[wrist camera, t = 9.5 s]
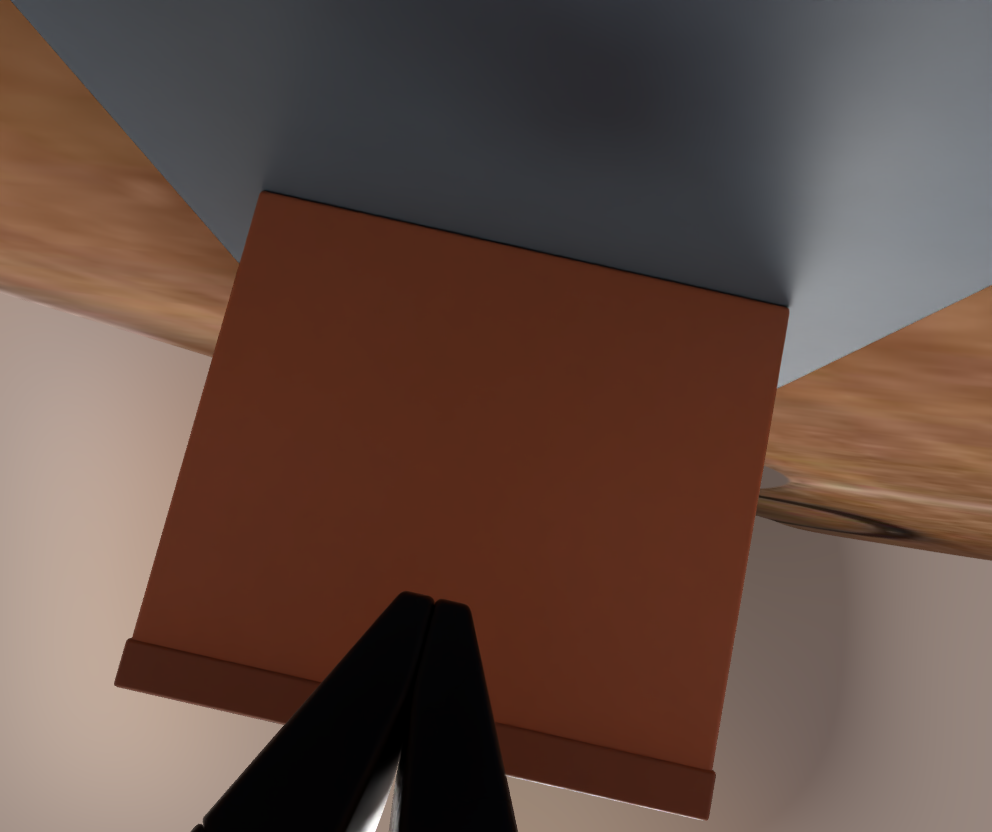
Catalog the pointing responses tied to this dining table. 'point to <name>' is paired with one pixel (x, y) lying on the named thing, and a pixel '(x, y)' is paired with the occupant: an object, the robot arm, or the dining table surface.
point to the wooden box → (472, 490)
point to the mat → (588, 133)
